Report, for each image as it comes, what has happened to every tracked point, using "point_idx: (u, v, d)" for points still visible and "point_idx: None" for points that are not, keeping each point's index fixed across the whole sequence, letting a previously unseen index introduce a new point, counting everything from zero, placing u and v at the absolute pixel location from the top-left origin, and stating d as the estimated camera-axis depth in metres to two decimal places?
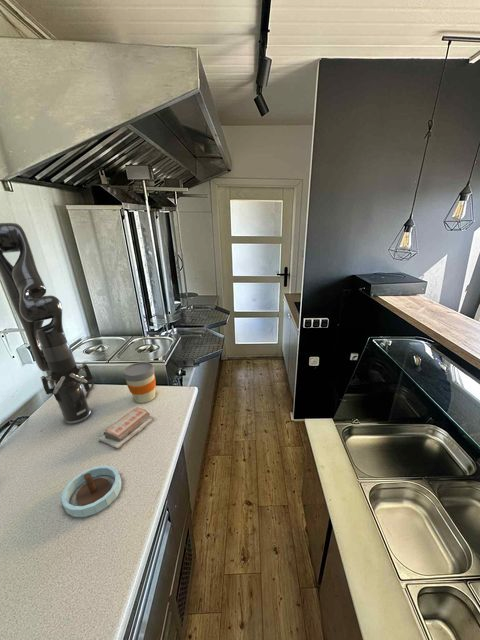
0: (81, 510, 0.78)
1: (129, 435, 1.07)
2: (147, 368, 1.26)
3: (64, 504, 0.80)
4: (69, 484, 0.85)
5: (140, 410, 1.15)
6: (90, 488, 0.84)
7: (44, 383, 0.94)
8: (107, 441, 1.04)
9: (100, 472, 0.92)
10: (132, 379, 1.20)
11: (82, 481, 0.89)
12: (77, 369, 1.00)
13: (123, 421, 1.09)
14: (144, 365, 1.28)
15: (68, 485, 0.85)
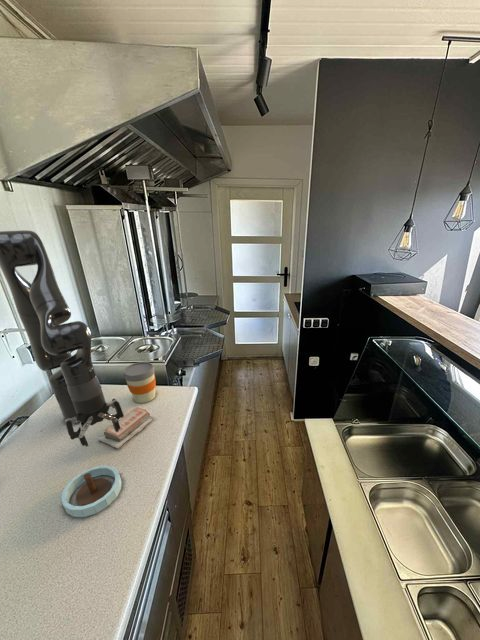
0: (81, 510, 0.78)
1: (129, 435, 1.07)
2: (147, 368, 1.26)
3: (64, 504, 0.80)
4: (69, 484, 0.85)
5: (140, 410, 1.15)
6: (90, 488, 0.84)
7: (68, 427, 0.77)
8: (107, 441, 1.04)
9: (100, 472, 0.92)
10: (132, 379, 1.20)
11: (82, 481, 0.89)
12: (106, 407, 0.83)
13: (123, 421, 1.09)
14: (144, 365, 1.28)
15: (68, 485, 0.85)
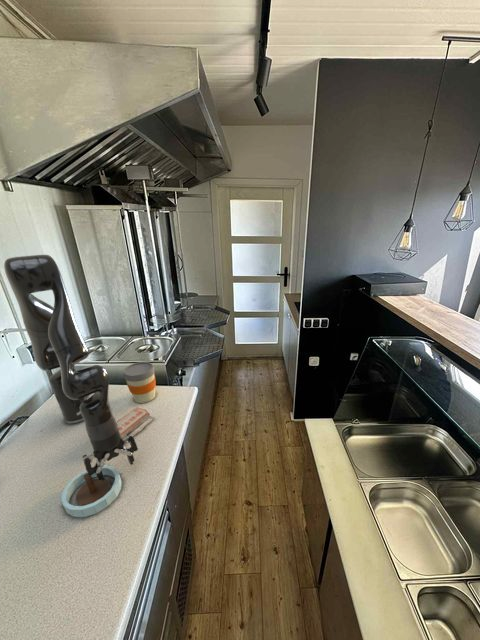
0: (81, 510, 0.78)
1: None
2: (147, 368, 1.26)
3: (64, 504, 0.80)
4: (69, 484, 0.85)
5: (140, 410, 1.15)
6: (90, 488, 0.84)
7: (87, 464, 0.80)
8: None
9: None
10: (132, 379, 1.20)
11: (82, 481, 0.89)
12: (122, 442, 0.86)
13: (123, 421, 1.09)
14: (144, 365, 1.28)
15: (68, 485, 0.85)
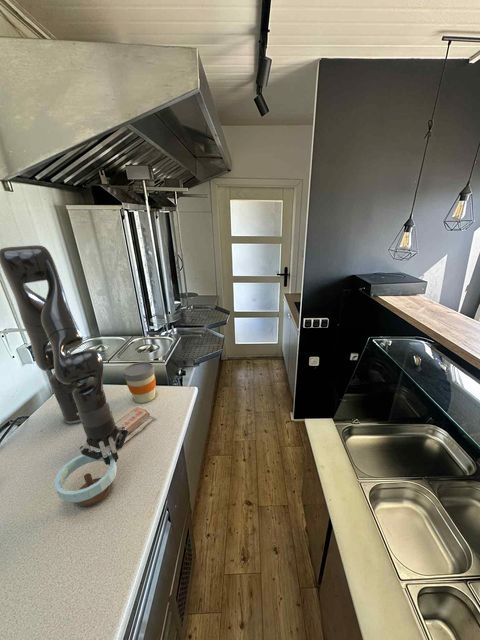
0: (74, 495, 0.76)
1: (129, 435, 1.07)
2: (147, 368, 1.26)
3: (57, 489, 0.77)
4: (62, 469, 0.83)
5: (140, 410, 1.15)
6: None
7: (86, 454, 0.80)
8: None
9: None
10: (132, 379, 1.20)
11: (76, 467, 0.87)
12: (116, 430, 0.84)
13: (123, 421, 1.09)
14: (144, 365, 1.28)
15: (61, 470, 0.83)
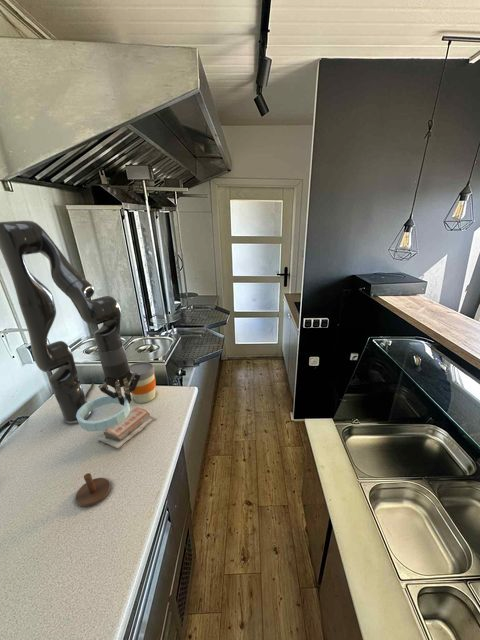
0: (94, 424, 0.87)
1: (129, 435, 1.07)
2: (147, 368, 1.26)
3: (79, 419, 0.89)
4: (83, 406, 0.94)
5: (140, 410, 1.15)
6: (90, 488, 0.84)
7: (104, 392, 0.91)
8: (107, 441, 1.04)
9: (110, 400, 1.00)
10: None
11: (94, 407, 0.98)
12: (130, 373, 0.95)
13: (123, 421, 1.09)
14: (144, 365, 1.28)
15: (82, 407, 0.94)
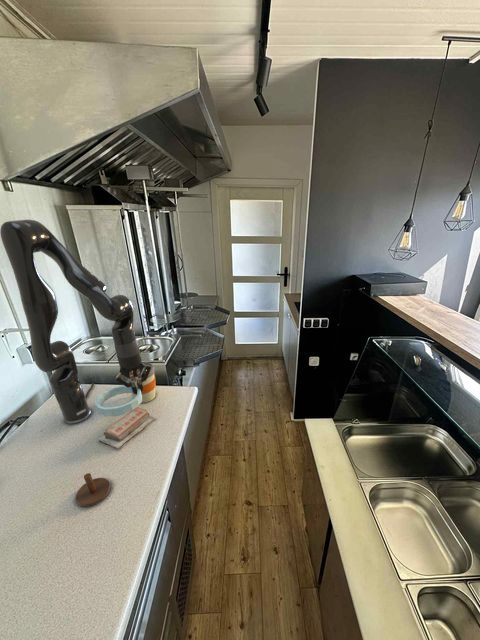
0: (112, 410, 0.97)
1: (129, 435, 1.07)
2: None
3: (98, 406, 0.99)
4: (100, 395, 1.05)
5: (140, 410, 1.15)
6: (90, 488, 0.84)
7: (120, 381, 1.02)
8: (107, 441, 1.04)
9: (124, 390, 1.11)
10: None
11: (110, 396, 1.08)
12: (142, 365, 1.06)
13: (123, 421, 1.09)
14: None
15: (99, 396, 1.04)
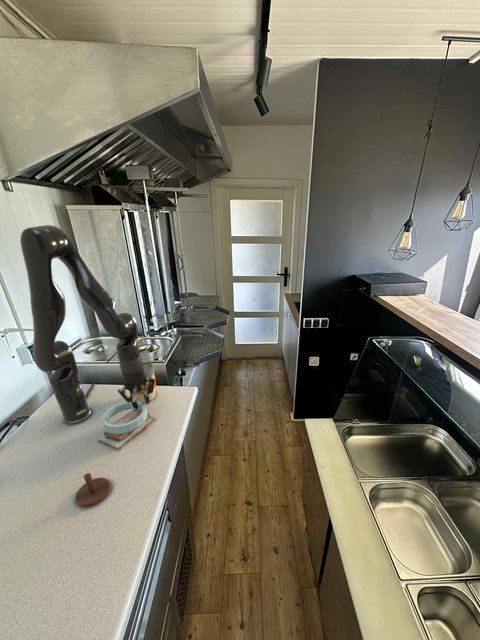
0: (118, 427, 1.01)
1: (129, 435, 1.07)
2: (147, 368, 1.26)
3: (105, 423, 1.02)
4: (106, 412, 1.08)
5: (140, 410, 1.15)
6: (90, 488, 0.84)
7: (122, 395, 1.04)
8: (107, 441, 1.04)
9: (129, 406, 1.14)
10: None
11: (115, 412, 1.12)
12: (146, 379, 1.09)
13: (123, 421, 1.09)
14: (144, 365, 1.28)
15: (106, 413, 1.08)
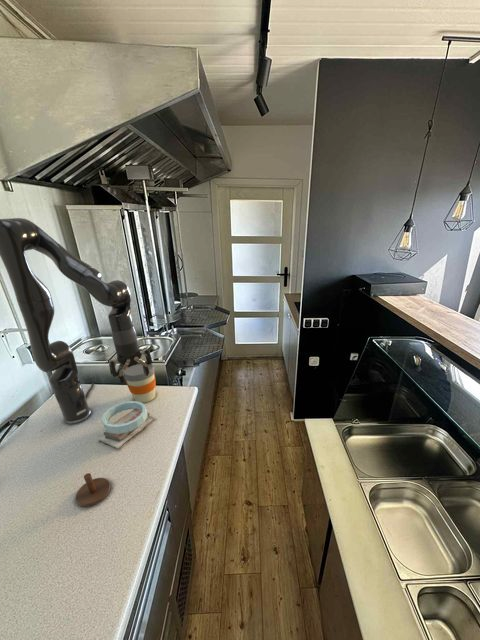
0: (118, 427, 1.01)
1: (129, 435, 1.07)
2: None
3: (105, 423, 1.02)
4: (106, 412, 1.08)
5: (140, 410, 1.15)
6: (90, 488, 0.84)
7: (112, 366, 0.98)
8: (107, 441, 1.04)
9: (129, 406, 1.14)
10: (132, 379, 1.20)
11: (115, 412, 1.12)
12: (140, 353, 1.04)
13: (123, 421, 1.09)
14: None
15: (106, 413, 1.08)
